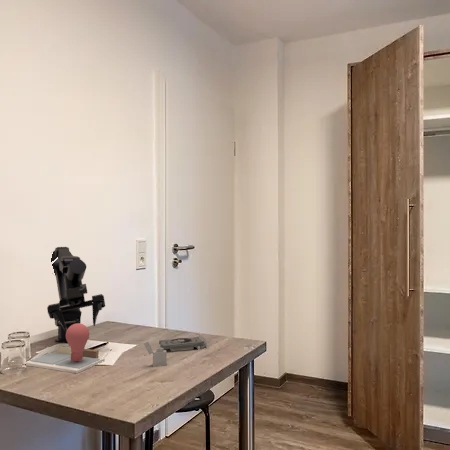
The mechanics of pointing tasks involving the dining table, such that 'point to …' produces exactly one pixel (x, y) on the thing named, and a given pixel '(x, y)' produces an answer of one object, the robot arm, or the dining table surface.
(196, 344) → the graphics card
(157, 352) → the lighter
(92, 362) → the board
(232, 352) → the dining table surface
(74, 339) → the light bulb
